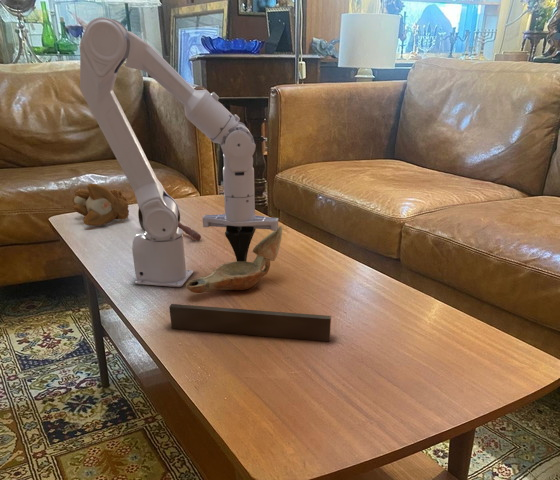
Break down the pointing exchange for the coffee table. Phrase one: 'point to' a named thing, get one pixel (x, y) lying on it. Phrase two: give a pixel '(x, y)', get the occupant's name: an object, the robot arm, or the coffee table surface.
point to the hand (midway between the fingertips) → (242, 263)
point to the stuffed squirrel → (100, 205)
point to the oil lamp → (240, 269)
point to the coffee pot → (186, 229)
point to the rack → (251, 322)
